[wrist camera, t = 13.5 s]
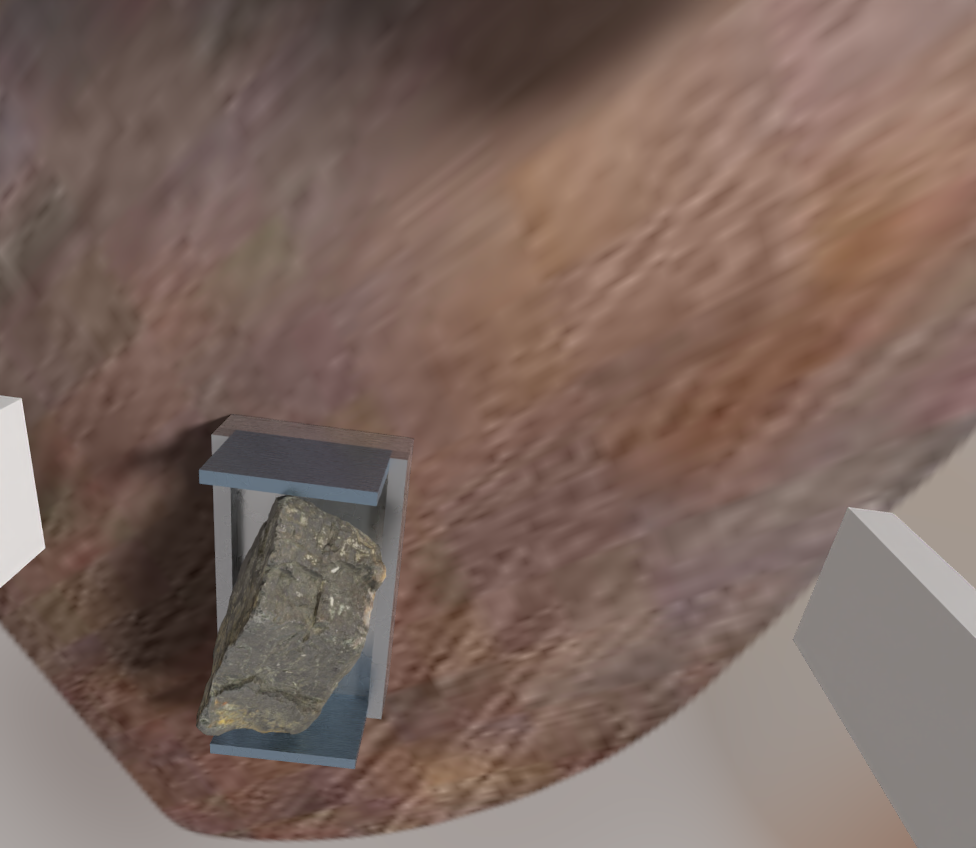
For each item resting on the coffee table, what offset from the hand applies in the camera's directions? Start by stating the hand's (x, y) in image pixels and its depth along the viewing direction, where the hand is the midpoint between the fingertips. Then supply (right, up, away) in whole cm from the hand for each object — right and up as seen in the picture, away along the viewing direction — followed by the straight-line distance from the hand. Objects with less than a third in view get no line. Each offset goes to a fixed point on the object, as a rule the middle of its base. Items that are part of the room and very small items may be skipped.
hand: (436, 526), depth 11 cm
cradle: (-11, -8, +32) cm, 35 cm away
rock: (-10, -8, +29) cm, 31 cm away
